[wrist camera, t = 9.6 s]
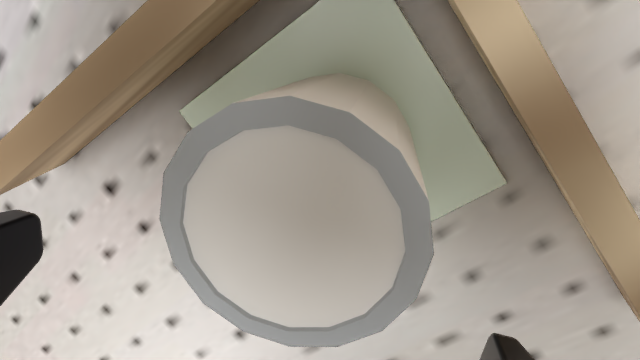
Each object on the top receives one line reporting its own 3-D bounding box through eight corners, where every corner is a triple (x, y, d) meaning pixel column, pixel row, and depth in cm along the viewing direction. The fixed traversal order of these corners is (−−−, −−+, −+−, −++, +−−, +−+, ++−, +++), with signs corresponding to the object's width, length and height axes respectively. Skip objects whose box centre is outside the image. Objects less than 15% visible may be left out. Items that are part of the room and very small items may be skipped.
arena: (657, 285, 17) (719, 363, 14) (285, 422, 24) (261, 499, 20) (397, -171, 14) (389, -229, 10) (45, 141, 20) (-36, 174, 17)
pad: (505, 180, 17) (507, 183, 17) (312, 278, 20) (310, 282, 20) (370, -39, 15) (369, -39, 15) (182, 109, 18) (178, 111, 18)
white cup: (441, 60, 16) (455, 109, 9) (418, 238, 18) (417, 371, 12) (246, 49, 17) (140, 86, 10) (252, 218, 19) (170, 330, 13)
